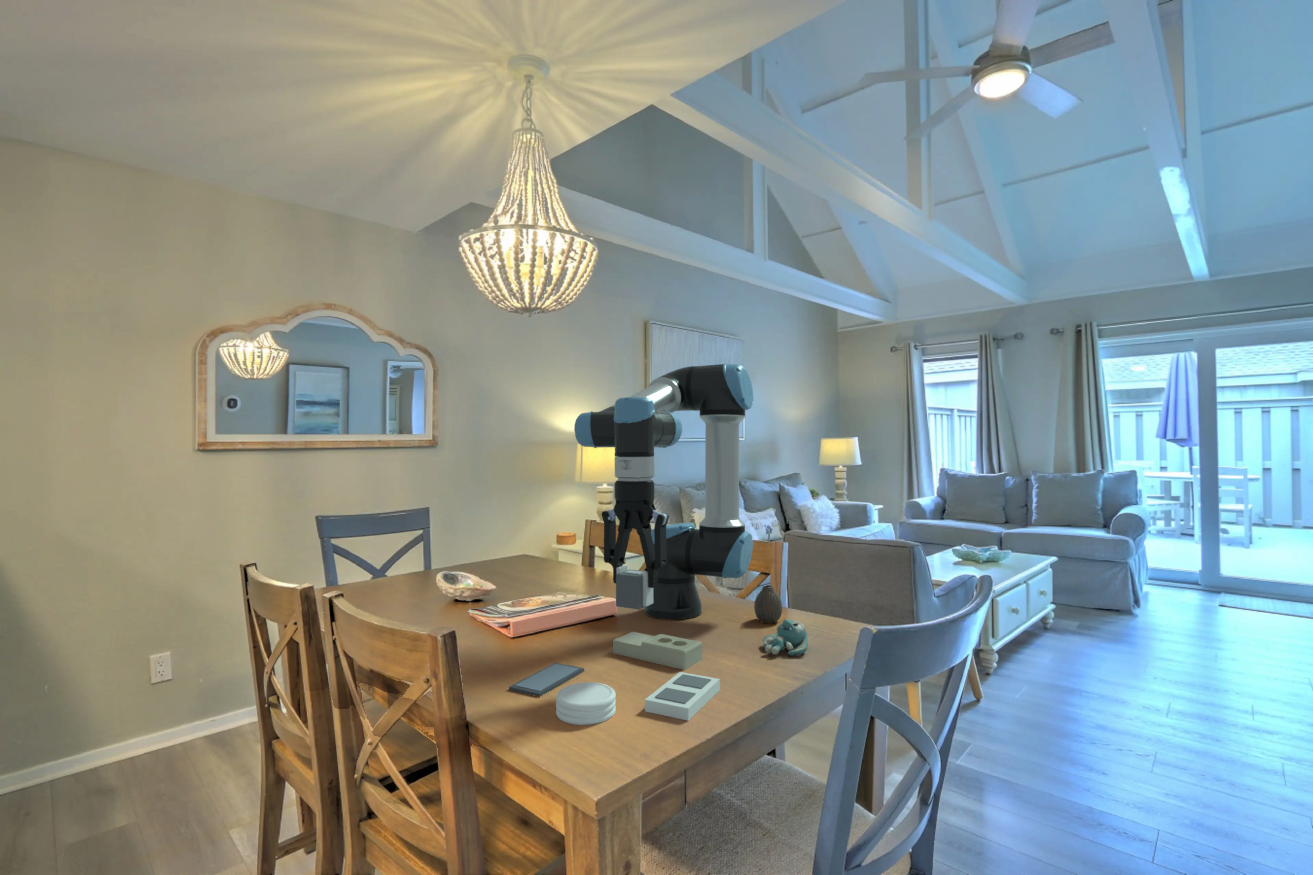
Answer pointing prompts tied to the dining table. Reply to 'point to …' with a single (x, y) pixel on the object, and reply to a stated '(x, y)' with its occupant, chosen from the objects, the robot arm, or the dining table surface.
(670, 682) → the plate
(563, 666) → the phone
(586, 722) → the coaster
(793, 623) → the stuffed animal
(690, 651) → the electrical outlet
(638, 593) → the block
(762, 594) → the vase
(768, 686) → the dining table surface
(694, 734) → the dining table surface
